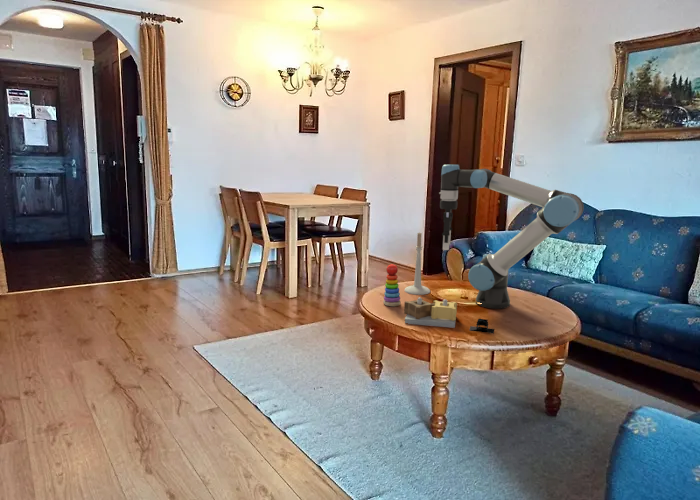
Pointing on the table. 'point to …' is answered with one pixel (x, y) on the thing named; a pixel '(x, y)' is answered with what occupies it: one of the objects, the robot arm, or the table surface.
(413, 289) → the candlestick
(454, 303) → the ochre cog
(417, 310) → the walnut cog
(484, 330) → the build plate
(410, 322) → the board
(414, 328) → the table surface
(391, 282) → the stacking toy
